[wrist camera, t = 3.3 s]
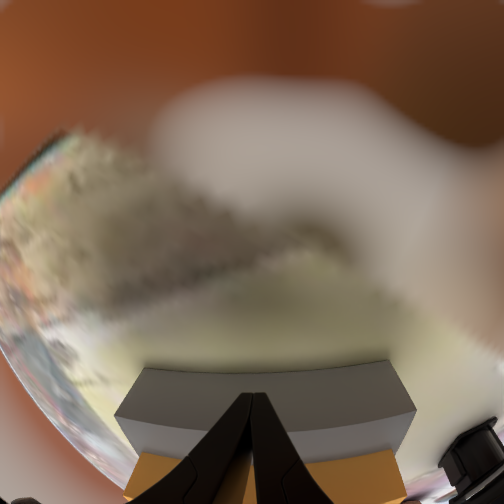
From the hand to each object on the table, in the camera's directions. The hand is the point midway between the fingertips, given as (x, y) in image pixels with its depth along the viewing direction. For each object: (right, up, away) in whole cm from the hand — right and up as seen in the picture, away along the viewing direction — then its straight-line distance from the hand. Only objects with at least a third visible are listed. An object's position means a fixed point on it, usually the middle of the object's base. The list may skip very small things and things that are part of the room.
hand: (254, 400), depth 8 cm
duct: (+1, -13, +9) cm, 16 cm away
